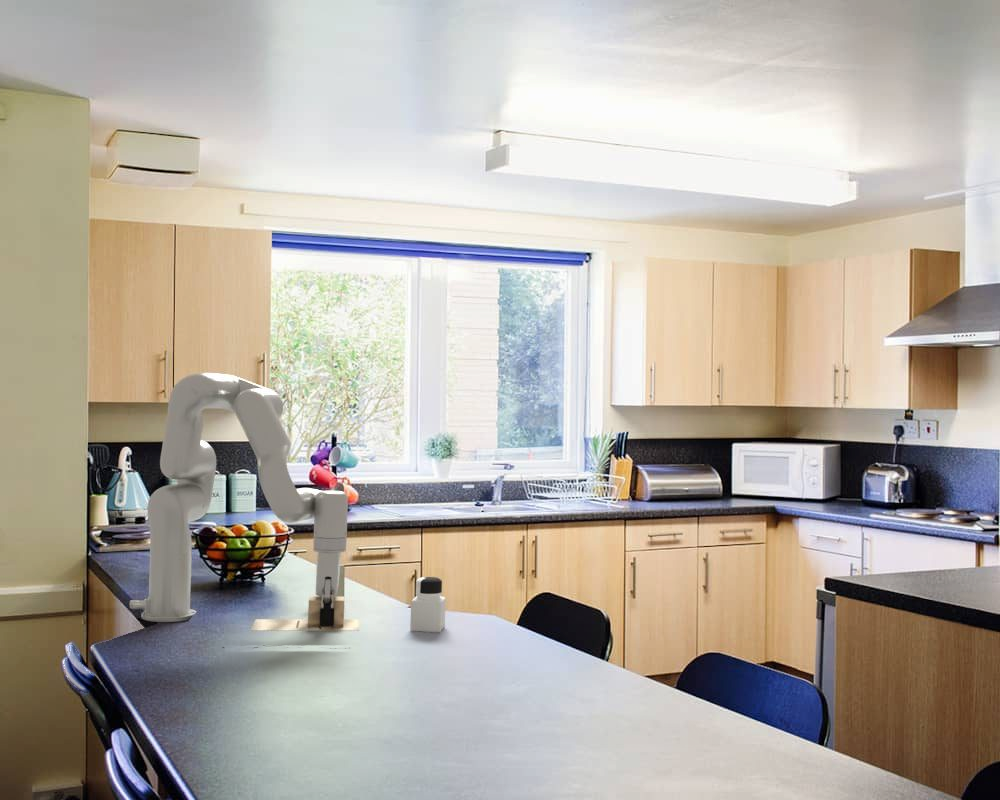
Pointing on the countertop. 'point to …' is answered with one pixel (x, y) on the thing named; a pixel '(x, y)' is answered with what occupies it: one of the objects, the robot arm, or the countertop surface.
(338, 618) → the block
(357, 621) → the board
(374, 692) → the countertop surface
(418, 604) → the medicine bottle
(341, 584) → the skincare box
